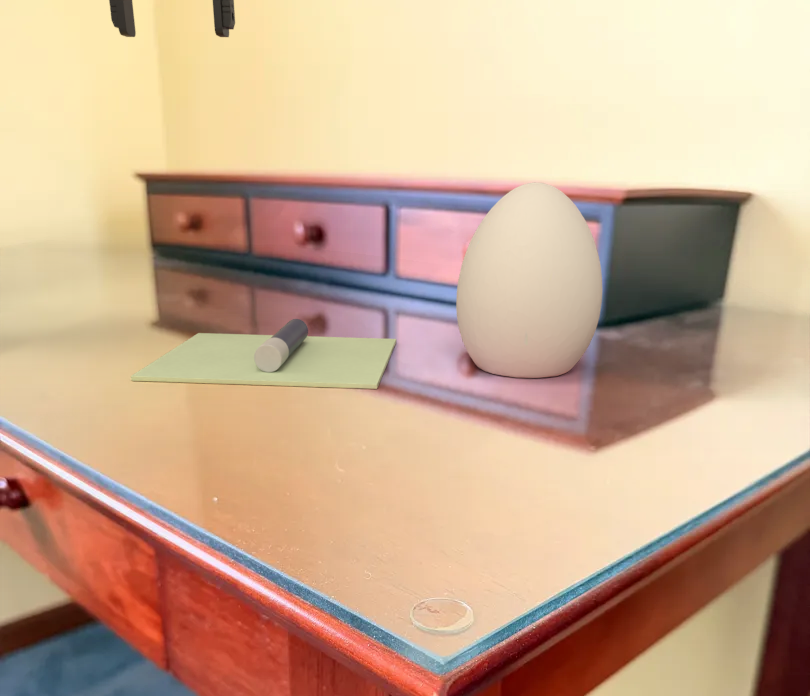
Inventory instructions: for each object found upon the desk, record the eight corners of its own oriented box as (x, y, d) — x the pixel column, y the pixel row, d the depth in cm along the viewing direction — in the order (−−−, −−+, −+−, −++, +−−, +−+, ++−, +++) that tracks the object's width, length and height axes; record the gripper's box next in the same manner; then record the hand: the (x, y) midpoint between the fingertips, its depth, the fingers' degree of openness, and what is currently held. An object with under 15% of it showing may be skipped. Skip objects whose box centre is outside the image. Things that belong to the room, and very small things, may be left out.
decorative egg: (583, 354, 78) (602, 181, 71) (603, 387, 66) (627, 186, 60) (454, 351, 78) (461, 179, 72) (453, 382, 67) (461, 183, 61)
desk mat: (131, 380, 66) (130, 376, 66) (198, 336, 82) (198, 332, 82) (377, 389, 65) (377, 384, 65) (396, 342, 81) (396, 338, 81)
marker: (283, 338, 79) (288, 314, 78) (306, 344, 79) (311, 321, 78) (251, 368, 68) (256, 341, 67) (278, 375, 68) (284, 349, 67)
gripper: (252, -184, 68) (264, 42, 75) (86, -182, 69) (112, 41, 76) (228, -222, 62) (243, 30, 68) (44, -219, 62) (77, 29, 69)
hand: (174, 36), depth 72 cm, fingers open, 8 cm apart
